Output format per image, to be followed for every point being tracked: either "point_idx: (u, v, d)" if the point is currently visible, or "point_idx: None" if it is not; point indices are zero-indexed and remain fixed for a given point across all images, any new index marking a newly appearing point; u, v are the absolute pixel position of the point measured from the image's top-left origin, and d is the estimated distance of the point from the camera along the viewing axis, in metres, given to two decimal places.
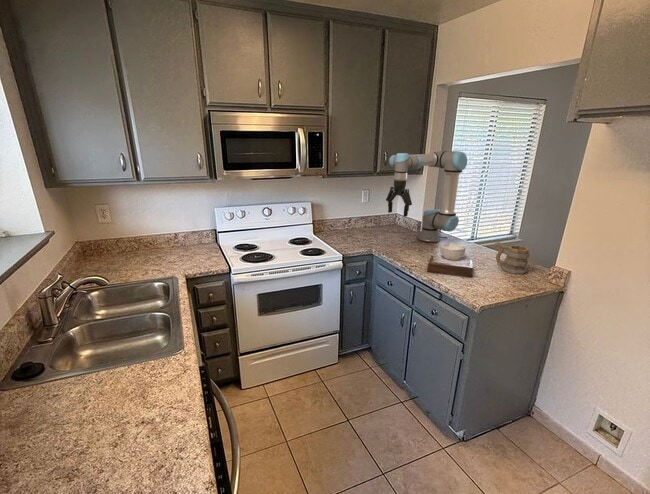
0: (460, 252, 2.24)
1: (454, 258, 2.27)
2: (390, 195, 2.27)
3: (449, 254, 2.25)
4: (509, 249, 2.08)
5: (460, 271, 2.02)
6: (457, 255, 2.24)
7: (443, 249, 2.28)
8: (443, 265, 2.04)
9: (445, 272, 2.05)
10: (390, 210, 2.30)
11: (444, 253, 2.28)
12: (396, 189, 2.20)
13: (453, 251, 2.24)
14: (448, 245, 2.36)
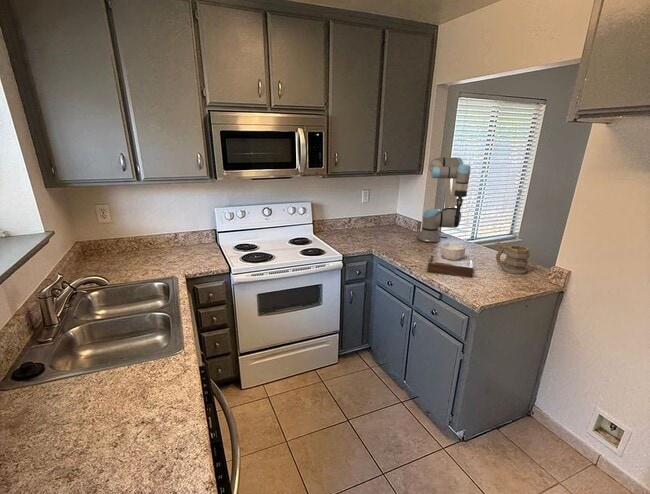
0: (460, 252, 2.24)
1: (454, 258, 2.27)
2: None
3: (449, 254, 2.25)
4: (509, 249, 2.08)
5: (460, 271, 2.02)
6: (457, 255, 2.24)
7: (443, 249, 2.28)
8: (443, 265, 2.04)
9: (445, 272, 2.05)
10: None
11: (444, 253, 2.28)
12: None
13: (453, 251, 2.24)
14: (448, 245, 2.36)
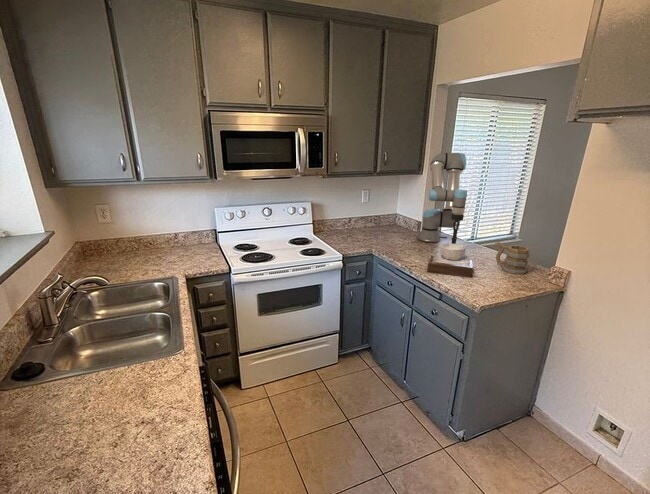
0: (460, 252, 2.24)
1: (454, 258, 2.27)
2: None
3: (449, 254, 2.25)
4: (509, 249, 2.08)
5: (460, 271, 2.02)
6: (457, 255, 2.24)
7: (443, 249, 2.28)
8: (443, 265, 2.04)
9: (445, 272, 2.05)
10: None
11: (444, 253, 2.28)
12: None
13: (453, 251, 2.24)
14: (448, 245, 2.36)
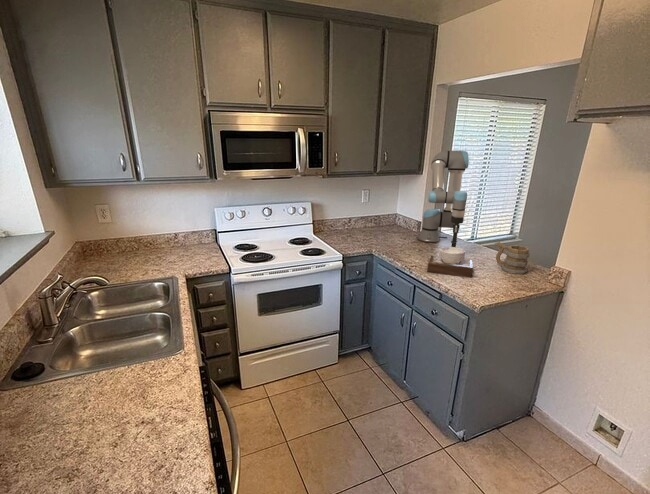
0: (459, 256, 2.17)
1: (453, 262, 2.20)
2: None
3: (448, 258, 2.19)
4: (509, 249, 2.08)
5: (460, 271, 2.02)
6: (456, 259, 2.18)
7: (442, 253, 2.21)
8: (443, 265, 2.04)
9: (445, 272, 2.05)
10: None
11: (443, 257, 2.21)
12: None
13: (452, 255, 2.17)
14: (448, 248, 2.29)
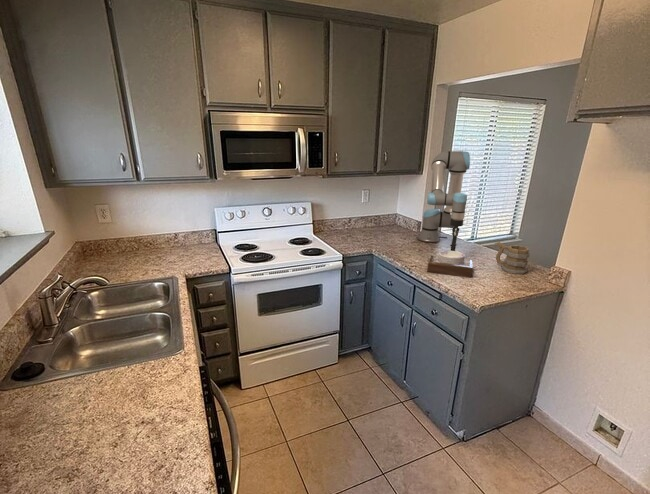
0: (459, 260, 2.10)
1: None
2: None
3: (447, 262, 2.11)
4: (509, 249, 2.08)
5: (460, 271, 2.02)
6: (455, 263, 2.10)
7: (441, 257, 2.14)
8: (443, 265, 2.04)
9: (445, 272, 2.05)
10: None
11: (442, 261, 2.14)
12: None
13: (451, 259, 2.09)
14: (447, 252, 2.22)
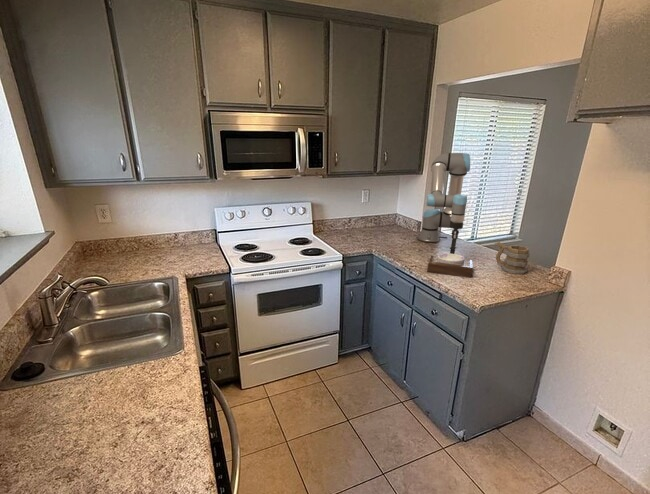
0: (458, 264, 2.05)
1: None
2: None
3: None
4: (509, 249, 2.08)
5: (460, 271, 2.02)
6: None
7: (440, 260, 2.09)
8: (443, 265, 2.04)
9: (445, 272, 2.05)
10: None
11: None
12: None
13: (450, 262, 2.04)
14: (446, 255, 2.17)
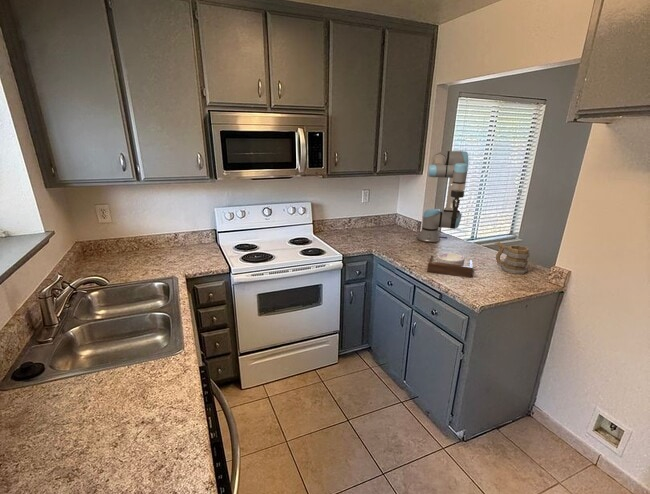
0: (458, 264, 2.05)
1: None
2: None
3: None
4: (509, 249, 2.08)
5: (460, 271, 2.02)
6: None
7: (440, 260, 2.09)
8: (443, 265, 2.04)
9: (445, 272, 2.05)
10: None
11: None
12: None
13: (450, 262, 2.04)
14: (446, 255, 2.17)
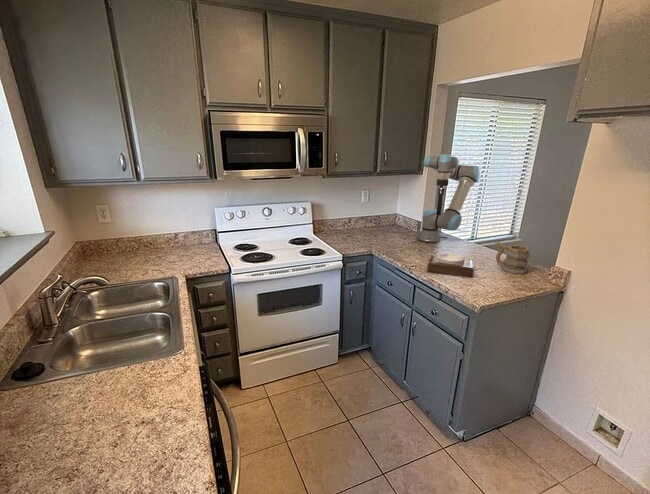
0: (458, 264, 2.05)
1: None
2: None
3: None
4: (509, 249, 2.08)
5: (460, 271, 2.02)
6: None
7: (440, 260, 2.09)
8: (443, 265, 2.04)
9: (445, 272, 2.05)
10: None
11: None
12: None
13: (450, 262, 2.04)
14: (446, 255, 2.17)
